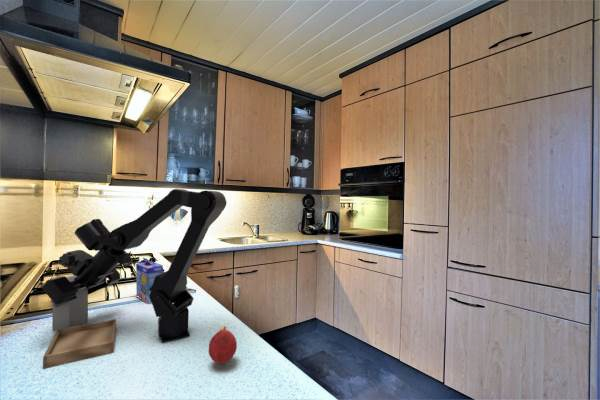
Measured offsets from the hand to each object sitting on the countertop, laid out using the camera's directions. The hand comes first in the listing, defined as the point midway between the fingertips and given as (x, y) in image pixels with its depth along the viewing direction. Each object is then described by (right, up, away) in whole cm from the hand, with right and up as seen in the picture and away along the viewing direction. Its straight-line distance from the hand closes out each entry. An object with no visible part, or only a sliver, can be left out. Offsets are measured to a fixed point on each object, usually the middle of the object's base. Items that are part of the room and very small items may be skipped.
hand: (66, 301), depth 76 cm
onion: (+47, -7, -17) cm, 51 cm away
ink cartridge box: (+11, -7, +21) cm, 25 cm away
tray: (+13, -7, -10) cm, 17 cm away
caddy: (+1, -7, 0) cm, 7 cm away
